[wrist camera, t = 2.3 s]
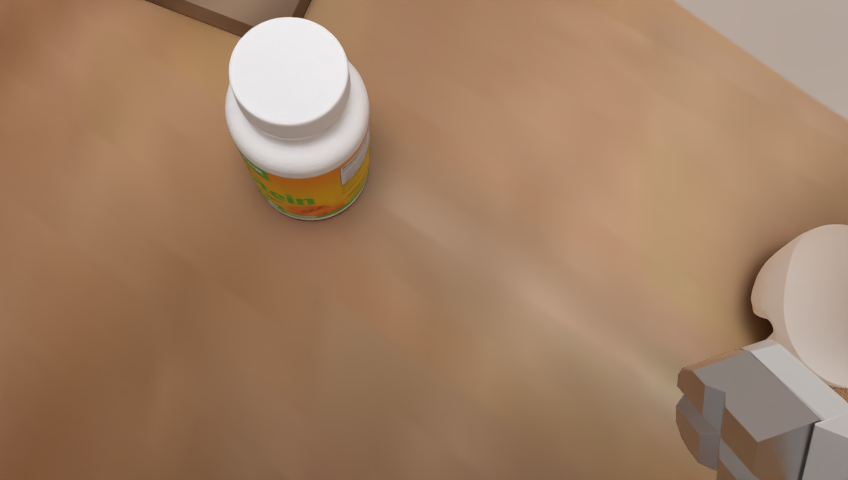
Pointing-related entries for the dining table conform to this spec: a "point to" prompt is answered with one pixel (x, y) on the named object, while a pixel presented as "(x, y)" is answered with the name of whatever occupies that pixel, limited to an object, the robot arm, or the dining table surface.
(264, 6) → the walnut board
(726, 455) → the robot arm
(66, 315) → the dining table surface
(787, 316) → the water bottle
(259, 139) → the supplement bottle
